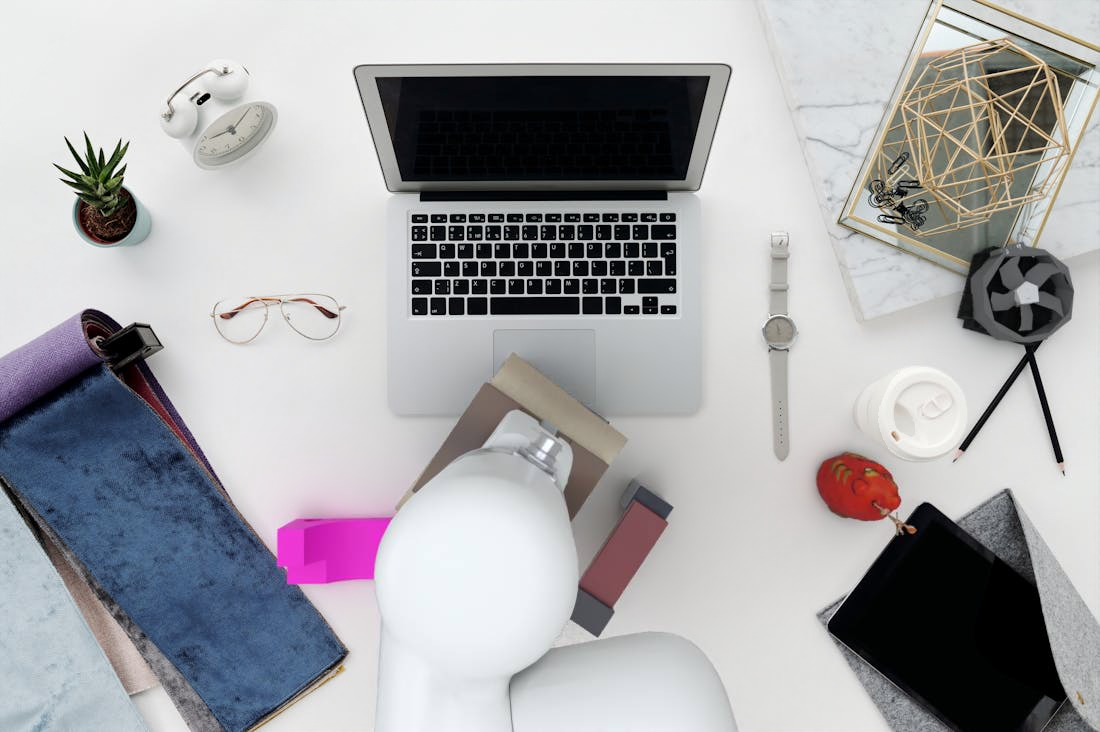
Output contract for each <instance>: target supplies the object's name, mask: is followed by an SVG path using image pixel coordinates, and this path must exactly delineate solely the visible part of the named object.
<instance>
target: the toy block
mask: <svg viewBox="0 0 1100 732" xmlns="http://www.w3.org/2000/svg"><path fill="white" fill-rule="evenodd" d="M393 518H394V517H341V518H340V517H337V518H336V517H334V518H333V517H332V518H331V517H329V518H325V517H324V518H296V519H294V520H291V521H290V522H288V523H287V524H284V525H282V526H281V527H279V528H277V529H276V555H277V556H276V558H277V559H276V567H277V568H286V584H287V585H328V584H332V583H338V582H339V583H340V582H345V581H347V582H348V581H357V580H358V581H360V580H374V569H375V561H376V555H377V552H378V548H379V545H380V542H381V539H382V537H383V535H384V533H385V531H386V529H387V527H388V525H389V524H390V522H391V520H392V519H393Z"/></svg>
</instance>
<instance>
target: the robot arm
mask: <svg viewBox="0 0 1100 732" xmlns="http://www.w3.org/2000/svg"><path fill="white" fill-rule="evenodd" d="M557 430H558V428H557V427H555V426H554V425H552V424H551V423H550V422H548V421H547V420H545V419H544V418H543V420H542V421H541V422H540V424H539V422H538V421H537V420H535V419H534V418H532V417H531V416H529V415H527V414H526V413H524V412H522V411H520V410H513V411H510V412H508V413H507V415H506V416H505V417H504V418H503V420H502V421H501V422H500V424H499V425H498V427H497V428H496V429H495V431H494V432H493V433H492V435H491V436H490V437H489V439H488V440H487V441H486V442H485V444H484V445H483V446H482V448H480V449H476V450H473V451H470V452H468V453H466V454H464V455H461V456H460V457H458V458H456V459H455V460H454V461H452V462H451V463H450V464H449V465H448V466H446V467H445V468H444V469H443V470H442V471H441V472H439V473H438V475H436V476H435V477H434V478H433V479H431V480H430V481H429V482H428V483H427V484H426V485H424V486H423V487H422V488H421V489H420V490H419V491H418V492H416V493H415V494H414V495H413V496H412V497H411V498H410V499H409V500H408V501H407V502H406V503H405V504H404V505H403V506H402V507H401V509H400V510H399V511H398V510H397V512H396V514H394V516H393V517H392V518H393V519H392V520H391V522H390V524H389V525H388V527H387V529H386V531H385V533H384V535H383V537H382V539H381V542H380V545H379V548H378V552H377V555H376V561H375V569H374V579H373V583H374V584H373V585H374V595H375V600H376V604H377V607H378V608H377V609H378V613H379V615H380V626H379V627H380V630H379V631H380V633H379V649H378V665H377V666H378V669H377V685H376V686H377V687H376V700H375V701H376V703H375V715H374V727H373V728H374V729H373V732H740V731H739V728H738V724H737V722H736V718H735V715H734V711H733V708H732V705H731V702H730V699H729V695H728V692H727V689H726V687H725V684H724V683H723V680H722V678H721V676H720V674H719V672H718V671H717V669H716V667H715V665H714V664H713V662H712V661H711V660H710V658H709V657H708V656H707V654H706V653H705V652H704V651H703V650H702V649H701V648H700V647H699V646H698V645H697V644H696V643H694V642H693V641H692V640H690V639H688V638H686V637H684V636H683V635H680V634H676V633H674V632H673V633H672V632H666V631H644V632H643V631H642V632H635V633H628V634H621V635H616V636H610V637H606V638H600V639H594V640H589V641H583V642H578V643H572V644H567V645H562V646H556V647H553V646H554V645H555V644H556V642H557V640H558V639H559V638H560V637H561V635H562V634H563V633H564V631H565V629H566V627H567V625H568V623H569V621H570V617H571V615H572V612H573V609H574V606H575V602H576V598H577V592H578V582H579V579H580V577H579V576H580V575H579V574H580V573H579V571H580V569H579V557H578V552H577V546H576V542H575V538H574V533H573V527H572V525H571V523H570V519H569V514H568V510H567V505H566V501H565V497H564V494H563V492H564V489H565V486H566V484H567V482H568V477H569V474H570V471H571V467H572V462H573V453H572V449H571V447H570V445H569V444H568V443H567V442H566V441H565V440H563V439H562V438H561V437H559V438H556V437H555V435H556V432H557Z"/></svg>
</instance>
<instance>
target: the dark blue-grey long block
mask: <svg viewBox="0 0 1100 732" xmlns="http://www.w3.org/2000/svg"><path fill="white" fill-rule="evenodd" d="M622 493H623V494H622V495H621V496H620V497H619V499H618V502H619V503H620V505H621V507H622V508H623V509H624V511H625V510H626V509H627V507H628V506H629V504H630V503H631V501H632V500H633V499H635V500H637V501H638V502H640V503H641V504H643V505H644V506H646V507H647V508H649V509H650V510H652V511H653V512H654V513H656V514H657V515H659V516H660V517H662V518H663V519H665V520H666V521H667V519H668V517H669V515H670V514H671V512H672V511H673V510H674V506H673V505H672V504H671V503H669V502H668V501H667V500H666V499H665V498H664V497H663V496H661V494H658V493H657V492H655V491H654V490H653V489H651V488H650V487H648V486H646V485H645V484H643V483H642V482H640V481H639V480H637V479H636V478H635V477H634V478H632V480H630V483H628V486H627V488H626V489H625V490H624V492H622Z"/></svg>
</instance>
